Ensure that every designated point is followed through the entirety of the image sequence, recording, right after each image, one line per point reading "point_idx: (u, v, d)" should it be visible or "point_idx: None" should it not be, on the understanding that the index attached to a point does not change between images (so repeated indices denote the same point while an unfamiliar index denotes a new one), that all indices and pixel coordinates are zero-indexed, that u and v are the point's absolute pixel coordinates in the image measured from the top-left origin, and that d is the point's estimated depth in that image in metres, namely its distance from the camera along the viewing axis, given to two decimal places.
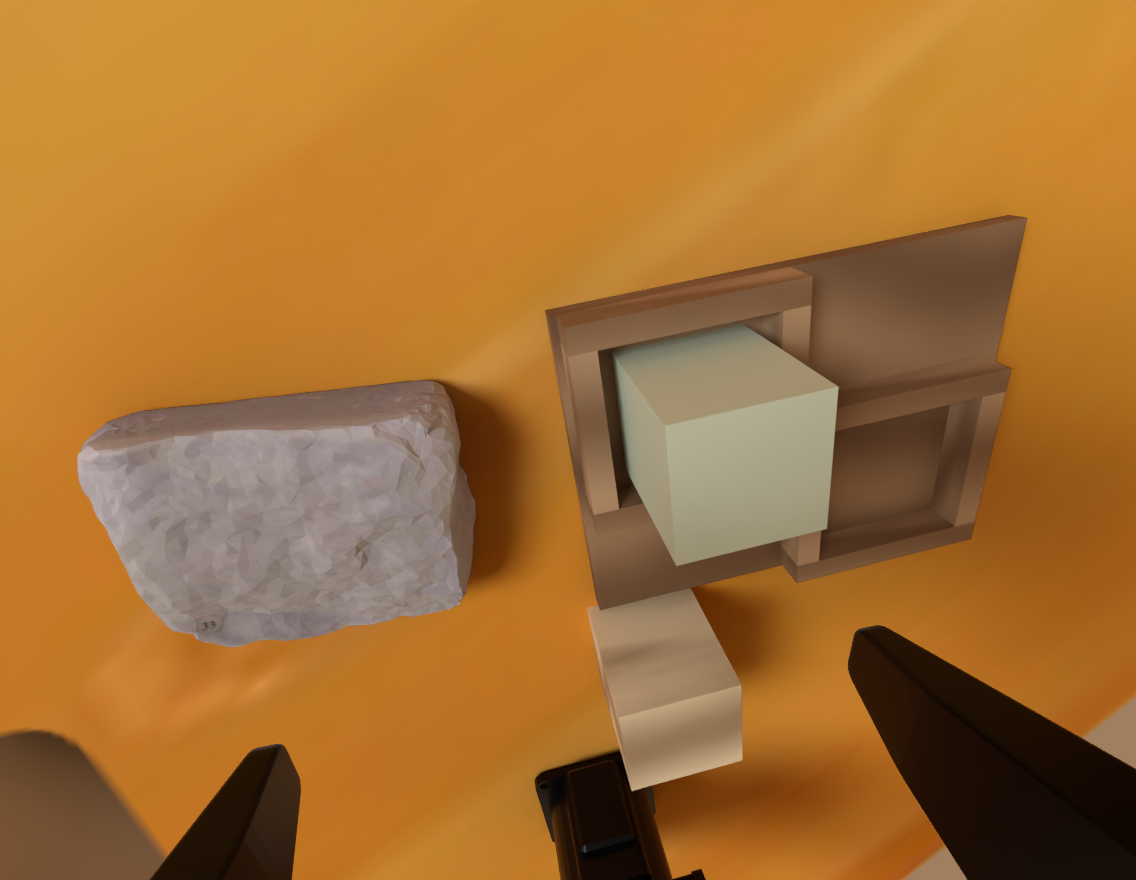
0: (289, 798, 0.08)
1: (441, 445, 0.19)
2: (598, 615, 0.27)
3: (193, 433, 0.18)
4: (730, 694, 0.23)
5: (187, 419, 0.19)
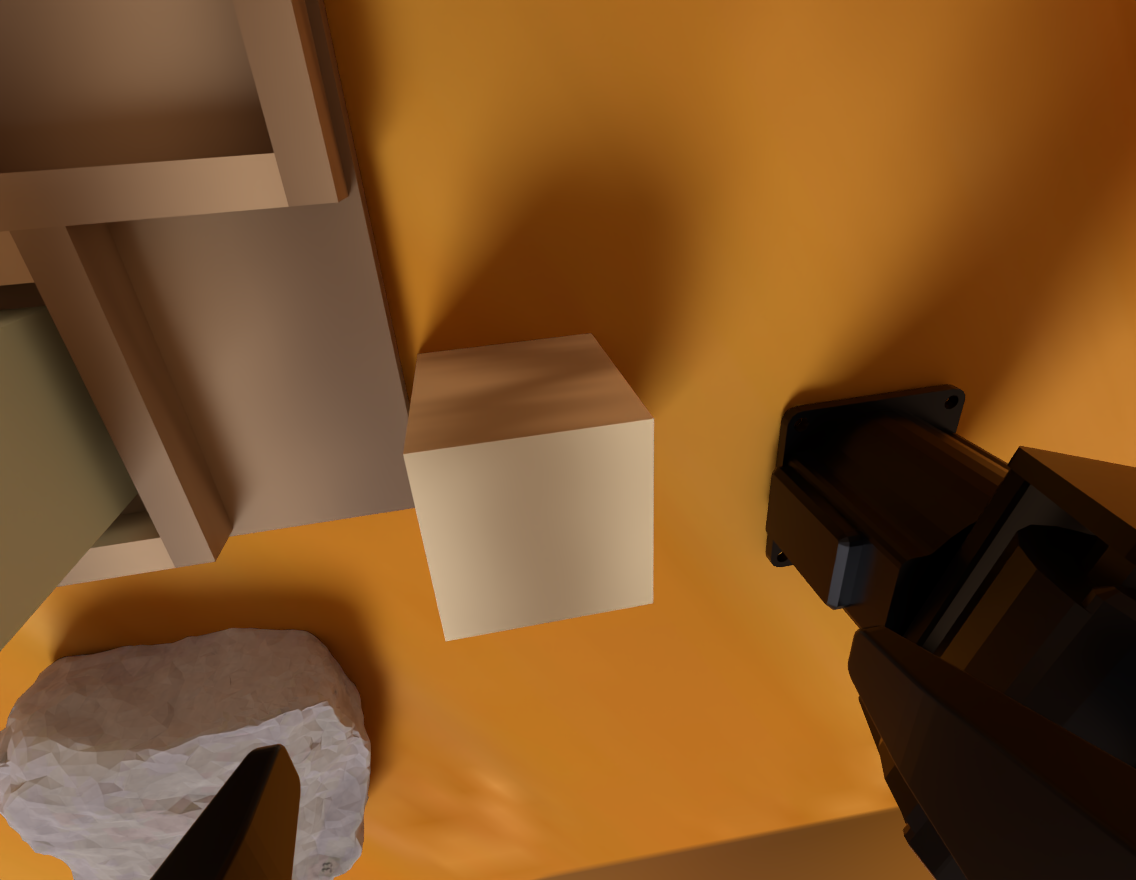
0: (289, 798, 0.08)
1: (18, 752, 0.16)
2: None
3: (77, 878, 0.20)
4: (427, 472, 0.11)
5: None
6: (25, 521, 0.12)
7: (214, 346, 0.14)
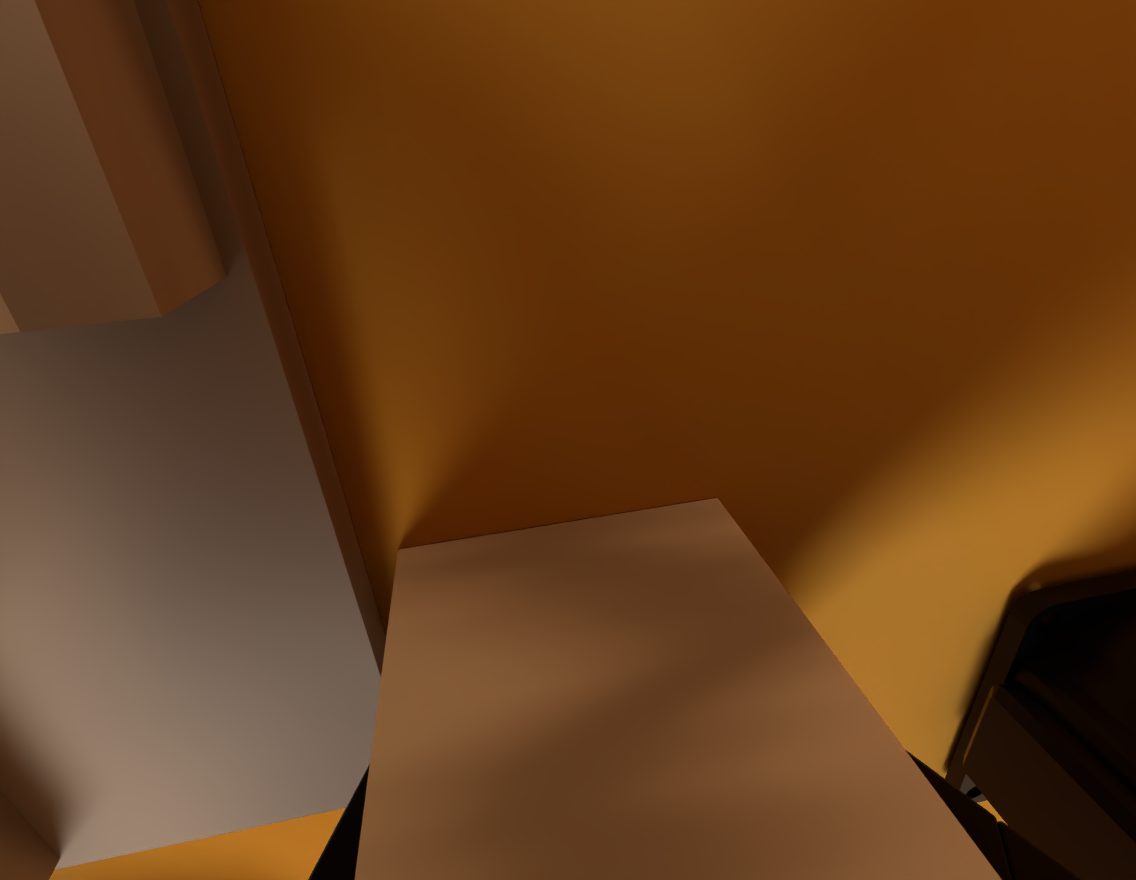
0: None
1: None
2: None
3: None
4: None
5: None
6: None
7: None
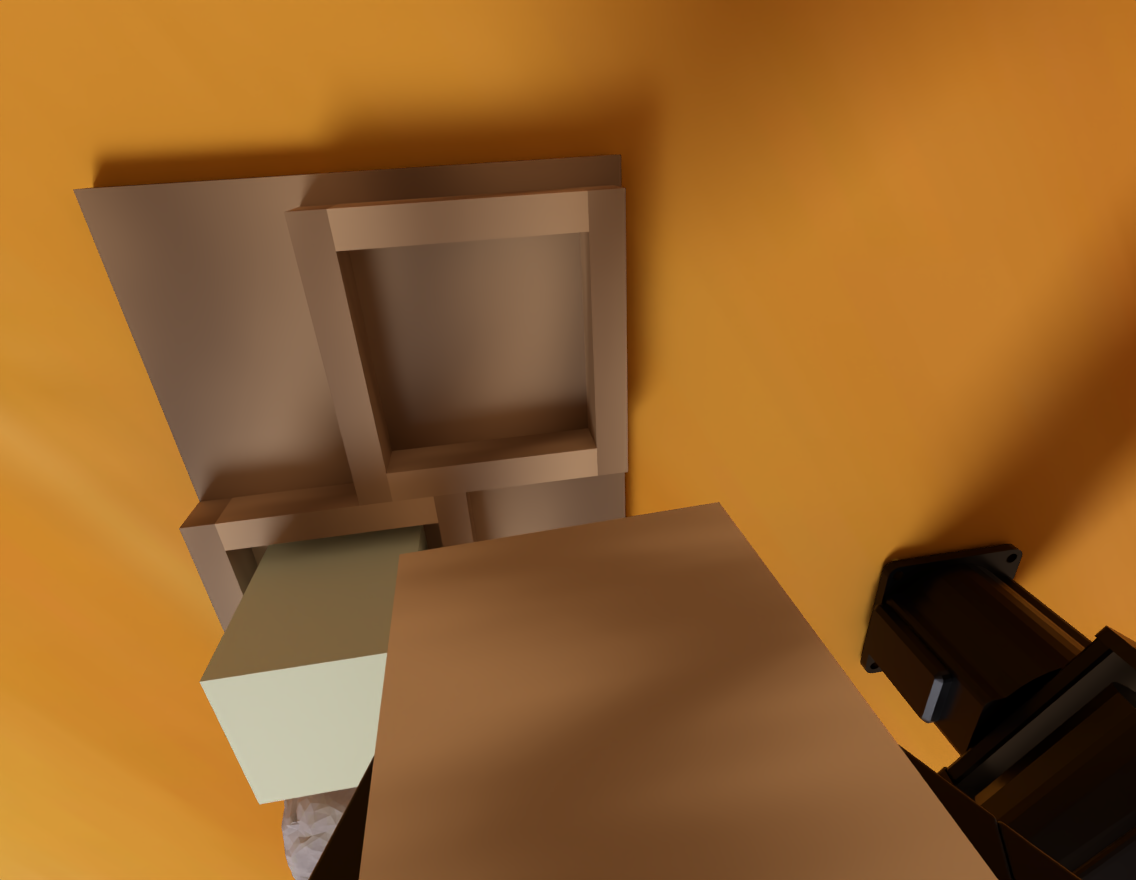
0: None
1: (307, 814, 0.22)
2: None
3: None
4: None
5: None
6: None
7: None
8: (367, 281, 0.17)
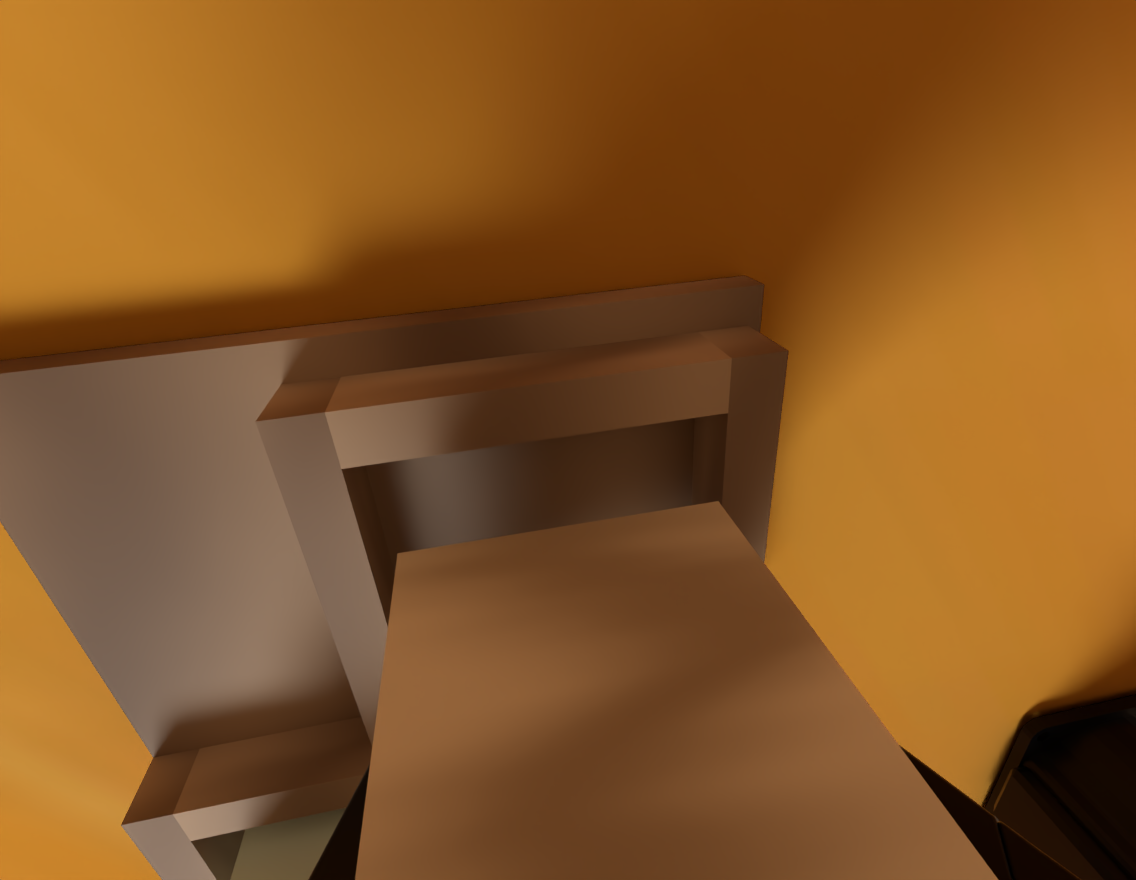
0: None
1: None
2: None
3: None
4: None
5: None
6: None
7: None
8: (386, 475, 0.11)
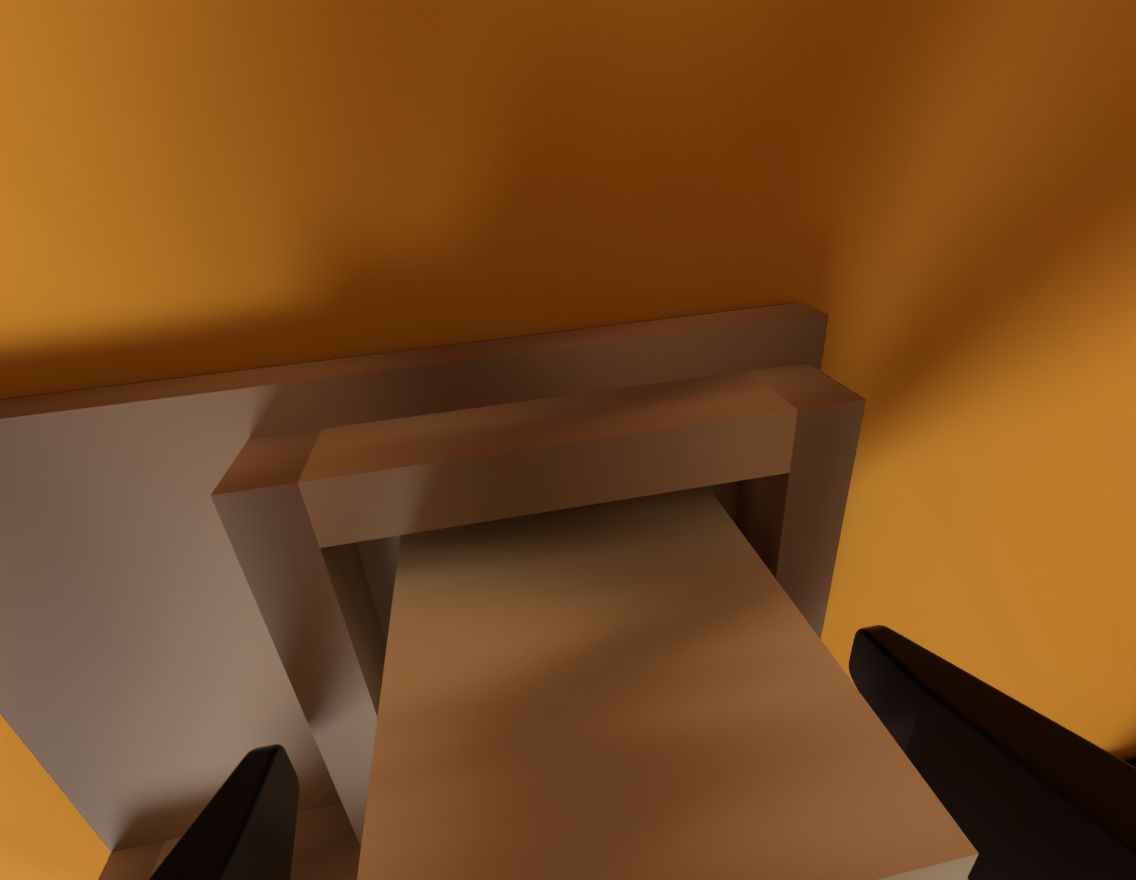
0: (288, 798, 0.08)
1: None
2: None
3: None
4: None
5: None
6: None
7: None
8: (377, 540, 0.09)
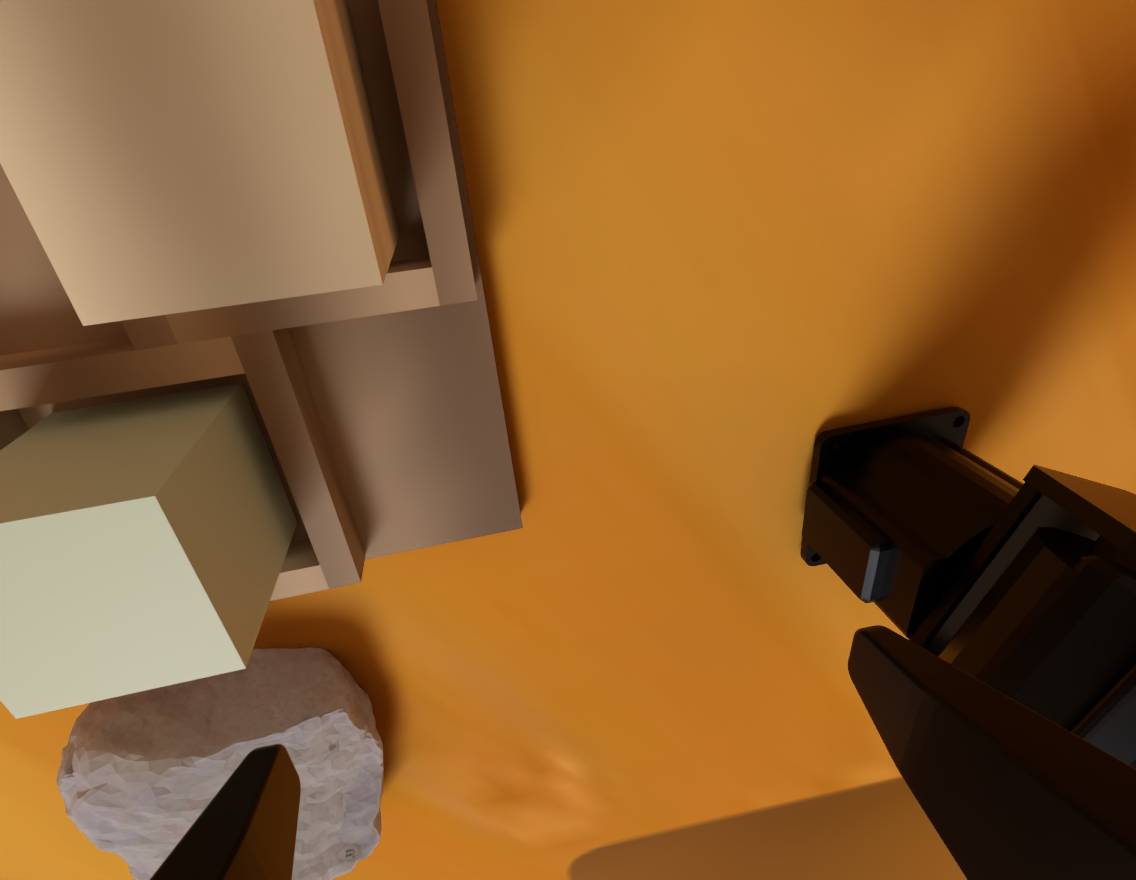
0: (289, 798, 0.08)
1: (82, 764, 0.19)
2: None
3: (133, 871, 0.23)
4: None
5: None
6: (247, 560, 0.15)
7: (361, 408, 0.18)
8: None
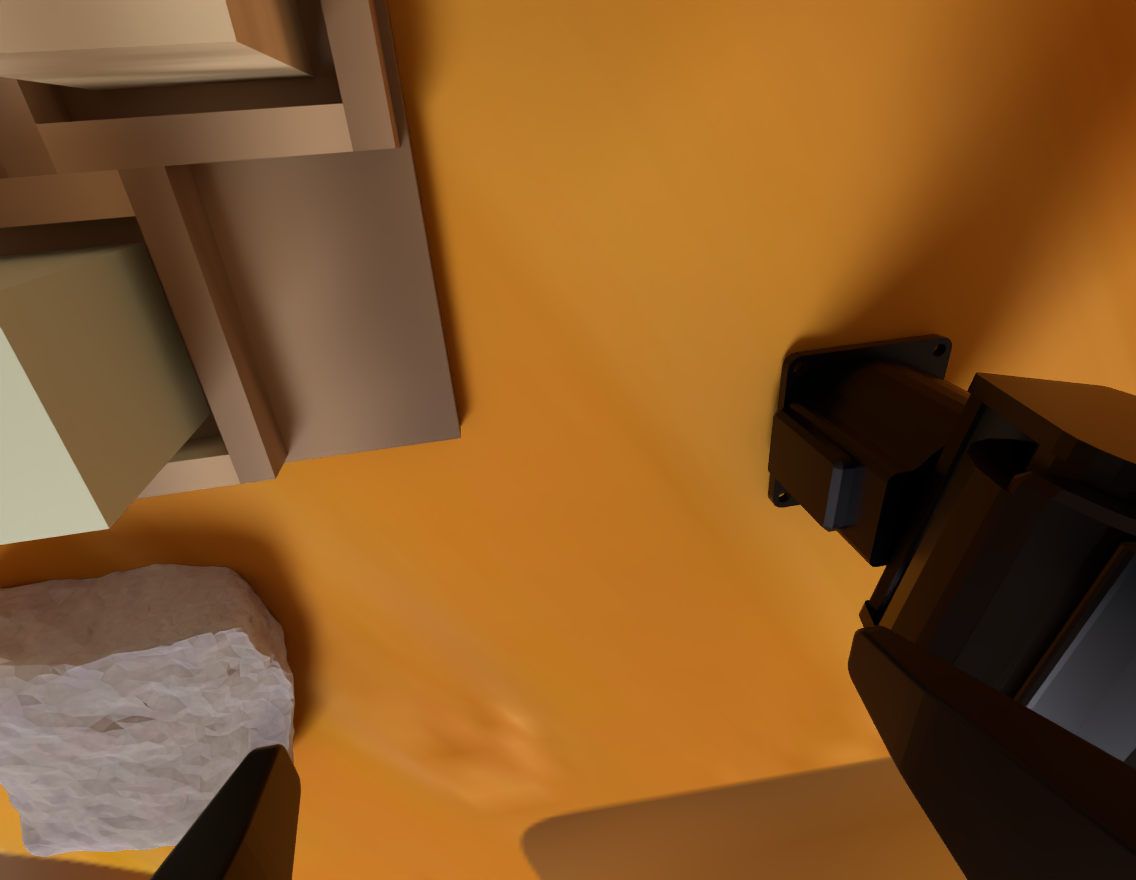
0: (289, 798, 0.08)
1: None
2: None
3: (14, 801, 0.21)
4: None
5: None
6: (128, 420, 0.14)
7: (278, 283, 0.16)
8: None
